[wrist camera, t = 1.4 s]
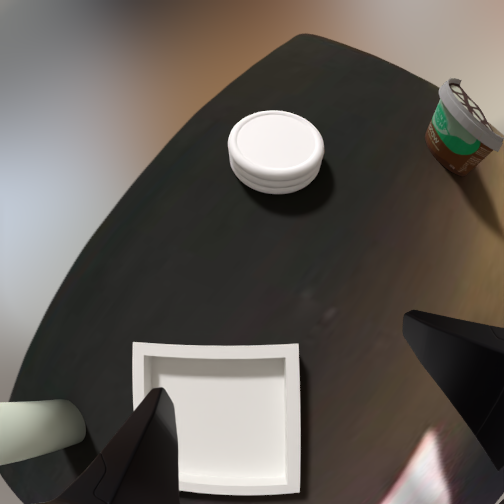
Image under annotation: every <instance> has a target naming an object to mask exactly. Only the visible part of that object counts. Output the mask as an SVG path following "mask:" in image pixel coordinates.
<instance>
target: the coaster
mask: <svg viewBox="0 0 504 504" xmlns="http://www.w3.org/2000/svg"><path fill="white" fill-rule="evenodd" d="M228 149H229V157H230V164H231V167H232V169H233V171H234V173H235V175H236V176H237V177H238V178H239V180H240V181H242V182H243V183H244V184H245V185H247V186H248V187H250V188H252V189H254V190H257V191H259V192H263V193H268V194H287V193H292V192H295V191H298V190H300V189H302V188H304V187H306V186H307V185H308V184H310V183H311V182H312V181H313V180H314V179H315V177H316V176H317V174H318V172H319V169H320V165H321V162H322V158H323V155H324V143H323V139H322V137H321V135H320V133H319V131H318V130H317V129H316V128H315V127H314V126H313V125H312V124H311V123H310V122H309V121H307V120H306V119H304V118H302V117H300V116H298V115H295V114H292V113H289V112H284V111H263V112H258V113H255V114H252V115H249V116H247V117H245V118H243V119H242V120H241V121H239V122H238V123H237V124H236V125H235V126H234V127H233V129H232V131H231V133H230V136H229V139H228Z"/></svg>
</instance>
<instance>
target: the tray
mask: <svg viewBox="0 0 504 504" xmlns="http://www.w3.org/2000/svg"><path fill="white" fill-rule="evenodd" d="M158 387H163V388H164V389H165V390H166V392H167V393H168V395H169V397H170V398H171V400H172V402H173V404H174V408H175V418H176V427H177V436H178V467H179V490H180V491H188V492H196V493H207V494H221V495H275V494H289V493H299V492H300V452H301V426H300V374H299V347H298V344H283V345H257V346H196V345H170V344H153V343H139V342H133V405H134V410H135V409H136V408H137V407H138V405H139V404H140V403H141V402H142V400H143V399H144V398H145V397H146V395H147V394H148V393H149V392H150V390H151V389H153V388H158Z"/></svg>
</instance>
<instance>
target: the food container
mask: <svg viewBox="0 0 504 504" xmlns="http://www.w3.org/2000/svg"><path fill="white" fill-rule="evenodd" d="M460 82H461V80H459V79H456V78H451V79H449V80H448V81H446V82H445V83H444V84H443V85H442V86H441V87H440V89H439V95H440V98H441V99H440V101H439V104H438V106H437V108H436V111H435V113H434V115H433V118H432V120H431V122H430V124H429V127H428V129H427V131H426V134H425V140H426V144H427V146H428V148H429V150H430V152H431V153H432V154H433V156H434V157H435V158H436V159H437V160H438V161H439V162H440V163H441V164H442V165H443V166H444V167H445V168H447V169H448V170H450V171H451V172H453V173H455V174H457V175H459V176H465V175H466V174H468V173H469V172H470V171H471V170H472V169H473V168H474V167H475V166H477V165H478V164H479V163H480V162H481V161H482V160H483V159H484V158H485V157H486V156H487V155H488V154H490V153H491V152H492V151H493V150H495V151H497V152H498V151H499V149H500V147H501V145H502V144H503V143H502V141H503V139H504V138H502V137H500V136H499V135H497V134H495V133H494V132H493V131H492V129H491V127H490V126H489V124H488V122H487V120H486V118H485V116H484V115H483V113H482V111H481V109H480V108H479V107H478V106H477V105H476V104H475V103H474V102H473V101H472V100H471V99H470V98H469V97H468V96H467V94H466V93H465V92H464V91H463V89H462V88H461V87H460Z"/></svg>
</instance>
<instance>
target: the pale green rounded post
mask: <svg viewBox="0 0 504 504" xmlns="http://www.w3.org/2000/svg"><path fill="white" fill-rule="evenodd" d="M85 435H86V425H85V421H84V419H83V416H82V414H81V413H80V411H79V410H78V408H77V407H76V406H75V405H74V404H73V403H71V402H70V401H68V400H64V399H59V400H47V401H32V402H0V465H4V464H8V463H13V462H17V461H21V460H25V459H29V458H33V457H36V456H40V455H43V454H47V453H50V452H53V451H57V450H60V449H63V448H66V447H69V446H72V445H75V444H78V443H80V442H82V441H83V439H84V438H85Z"/></svg>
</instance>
